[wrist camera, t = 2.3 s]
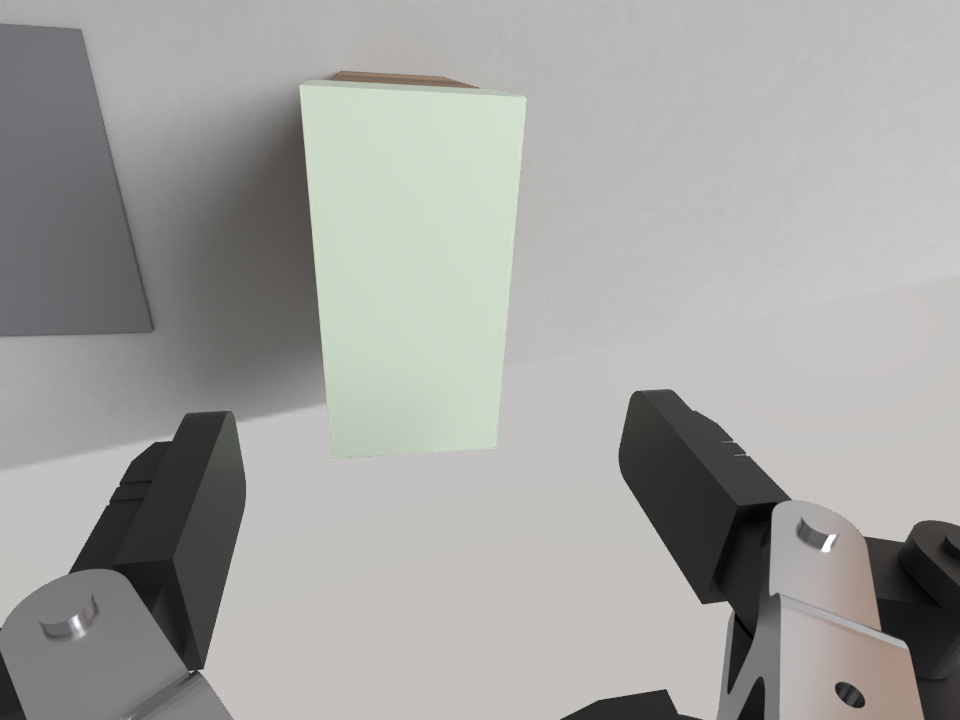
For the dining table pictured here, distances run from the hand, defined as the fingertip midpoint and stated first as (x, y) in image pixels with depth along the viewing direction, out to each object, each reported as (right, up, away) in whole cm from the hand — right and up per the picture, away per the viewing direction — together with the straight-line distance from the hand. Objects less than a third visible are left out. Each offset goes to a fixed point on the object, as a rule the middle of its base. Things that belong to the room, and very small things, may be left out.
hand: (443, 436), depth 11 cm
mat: (-22, +9, +14) cm, 28 cm away
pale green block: (-2, +5, +9) cm, 11 cm away
